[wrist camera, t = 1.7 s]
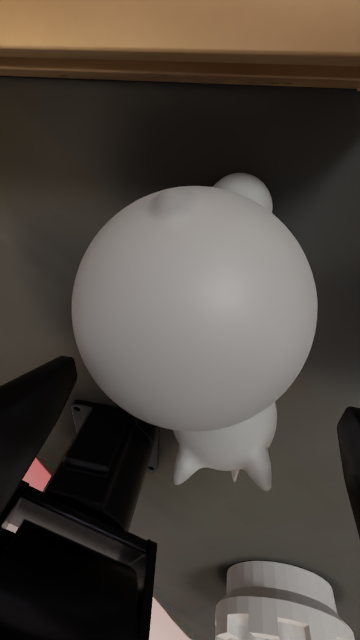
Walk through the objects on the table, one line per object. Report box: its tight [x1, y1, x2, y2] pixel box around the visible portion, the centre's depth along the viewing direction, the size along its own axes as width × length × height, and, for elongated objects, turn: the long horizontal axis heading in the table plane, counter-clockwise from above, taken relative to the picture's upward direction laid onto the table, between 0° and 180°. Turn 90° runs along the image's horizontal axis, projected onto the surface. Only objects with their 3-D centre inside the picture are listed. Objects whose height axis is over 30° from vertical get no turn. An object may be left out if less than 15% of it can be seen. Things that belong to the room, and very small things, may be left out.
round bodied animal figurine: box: [72, 173, 318, 491], centre depth 11 cm, size 7×12×8 cm, turn 14°
